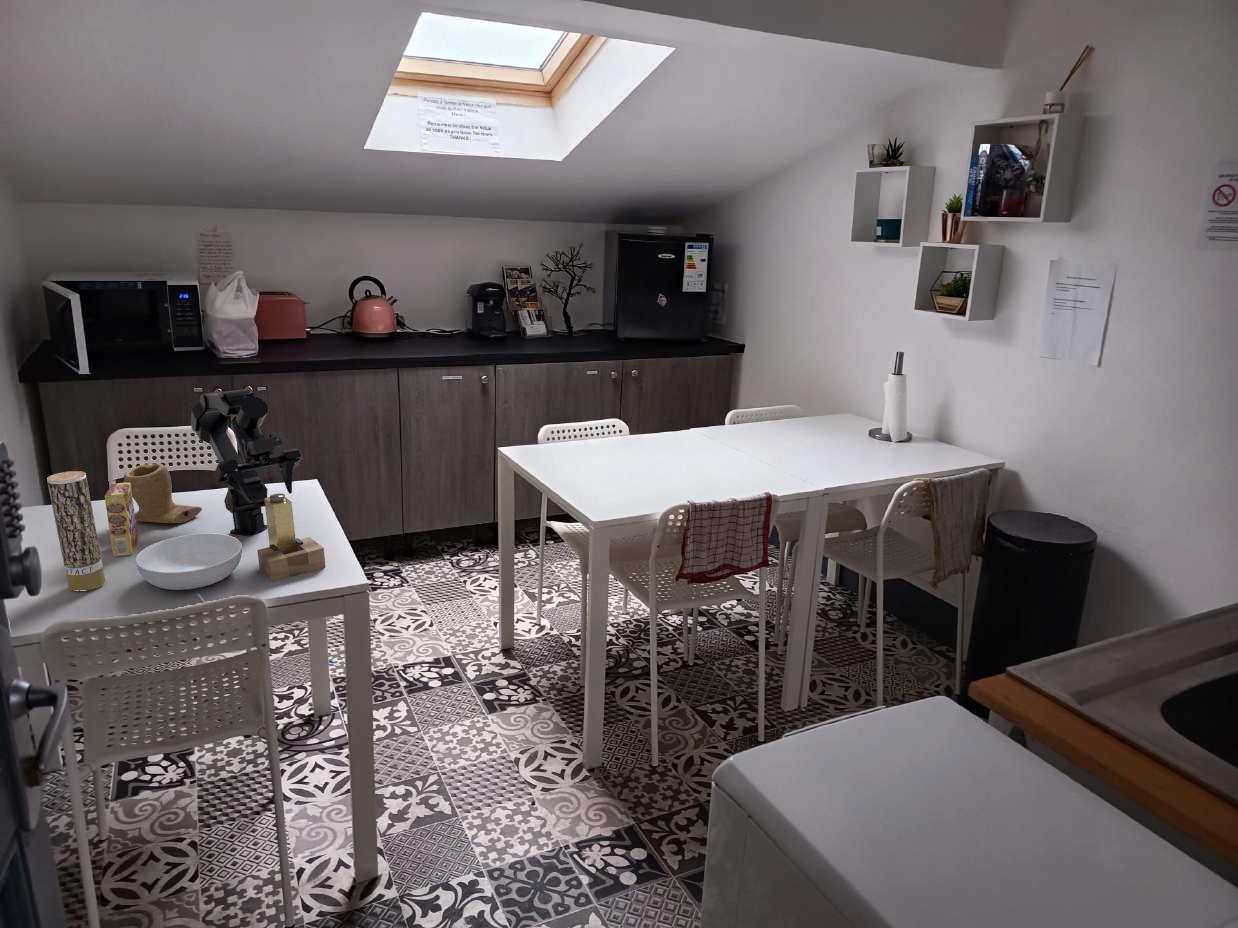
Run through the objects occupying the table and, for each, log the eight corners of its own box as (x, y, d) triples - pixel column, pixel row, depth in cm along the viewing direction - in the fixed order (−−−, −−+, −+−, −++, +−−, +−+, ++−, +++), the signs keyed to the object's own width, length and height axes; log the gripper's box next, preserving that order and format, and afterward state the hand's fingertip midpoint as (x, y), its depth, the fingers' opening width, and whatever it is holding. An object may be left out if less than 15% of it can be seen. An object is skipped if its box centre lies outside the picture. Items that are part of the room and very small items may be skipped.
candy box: (134, 555, 196) (123, 494, 191) (113, 557, 194) (102, 495, 190) (140, 540, 204) (130, 481, 199) (120, 543, 202) (110, 483, 198)
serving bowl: (135, 608, 172) (130, 578, 170) (145, 568, 190) (140, 540, 188) (246, 592, 180) (242, 562, 178) (245, 554, 198) (241, 527, 196)
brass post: (271, 558, 195) (263, 494, 190) (288, 554, 198) (281, 490, 193) (280, 567, 191) (273, 501, 186) (298, 562, 193) (291, 497, 188)
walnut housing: (259, 570, 190) (256, 547, 188) (311, 556, 197) (309, 535, 196) (272, 582, 184) (269, 559, 182) (325, 568, 192) (323, 545, 190)
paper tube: (79, 579, 184) (58, 471, 176) (111, 578, 184) (92, 471, 176) (62, 593, 177) (39, 481, 169) (96, 592, 178) (74, 481, 170)
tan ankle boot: (120, 526, 212) (110, 470, 208) (153, 510, 223) (145, 456, 219) (172, 532, 209) (164, 475, 205) (204, 515, 220) (196, 461, 216)
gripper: (213, 429, 185) (236, 492, 182) (297, 416, 197) (319, 475, 194) (205, 451, 194) (226, 511, 190) (285, 437, 206) (307, 494, 202)
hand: (271, 497), depth 194 cm, fingers open, 9 cm apart
